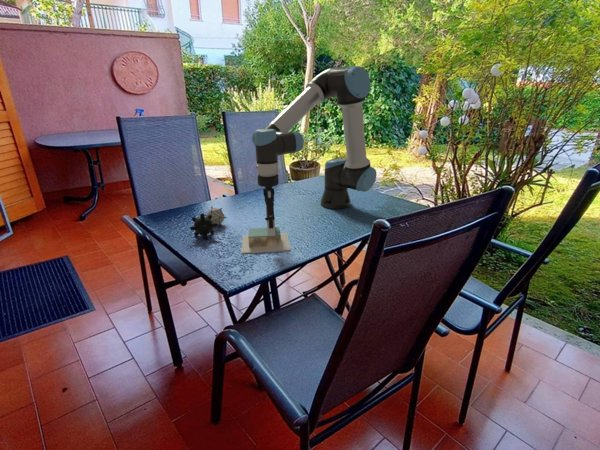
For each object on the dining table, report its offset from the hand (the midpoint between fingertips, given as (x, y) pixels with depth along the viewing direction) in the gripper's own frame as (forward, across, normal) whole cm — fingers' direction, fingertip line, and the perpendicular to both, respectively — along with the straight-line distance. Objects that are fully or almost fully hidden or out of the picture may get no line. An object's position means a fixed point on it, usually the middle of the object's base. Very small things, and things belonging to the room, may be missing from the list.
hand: (270, 228), depth 130 cm
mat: (+6, 0, -2) cm, 6 cm away
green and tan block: (+4, 0, +4) cm, 5 cm away
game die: (+6, -22, -23) cm, 33 cm away
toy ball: (+6, -10, -27) cm, 30 cm away
